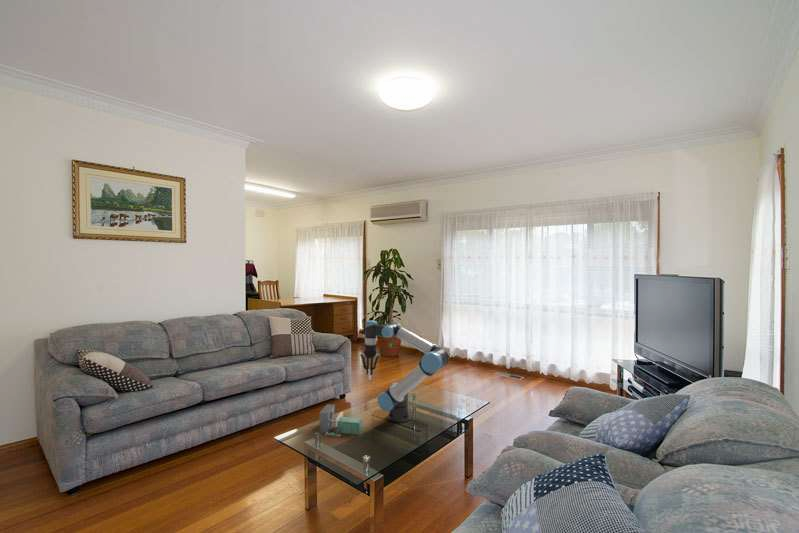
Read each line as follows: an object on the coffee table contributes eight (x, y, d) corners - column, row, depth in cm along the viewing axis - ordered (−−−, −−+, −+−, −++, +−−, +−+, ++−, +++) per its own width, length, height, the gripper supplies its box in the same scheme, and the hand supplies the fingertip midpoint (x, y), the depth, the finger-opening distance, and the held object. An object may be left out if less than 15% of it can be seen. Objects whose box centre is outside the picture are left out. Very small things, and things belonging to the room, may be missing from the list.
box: (359, 435, 221) (359, 422, 221) (337, 433, 222) (337, 421, 222) (361, 430, 228) (362, 418, 228) (340, 428, 229) (341, 416, 230)
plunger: (342, 424, 234) (343, 412, 234) (335, 435, 218) (335, 422, 218) (322, 422, 235) (323, 410, 235) (314, 433, 220) (314, 420, 220)
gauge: (347, 424, 234) (348, 406, 234) (340, 436, 218) (341, 416, 218) (326, 423, 236) (326, 404, 236) (317, 434, 220) (318, 414, 220)
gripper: (381, 343, 247) (379, 378, 247) (362, 342, 249) (360, 377, 249) (379, 345, 240) (378, 381, 240) (359, 344, 241) (358, 380, 241)
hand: (369, 379), depth 244 cm, fingers closed
